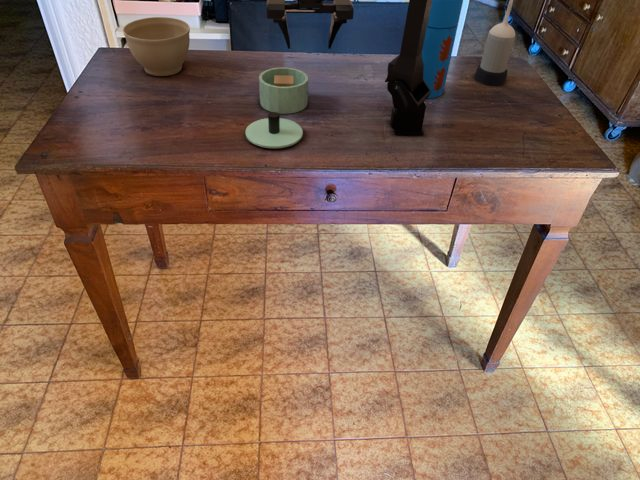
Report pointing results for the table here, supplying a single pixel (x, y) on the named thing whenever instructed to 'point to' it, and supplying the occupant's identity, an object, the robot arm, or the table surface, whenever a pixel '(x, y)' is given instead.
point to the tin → (283, 91)
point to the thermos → (439, 43)
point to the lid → (274, 132)
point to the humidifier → (496, 53)
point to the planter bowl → (158, 44)
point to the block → (283, 81)
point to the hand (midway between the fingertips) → (309, 48)
